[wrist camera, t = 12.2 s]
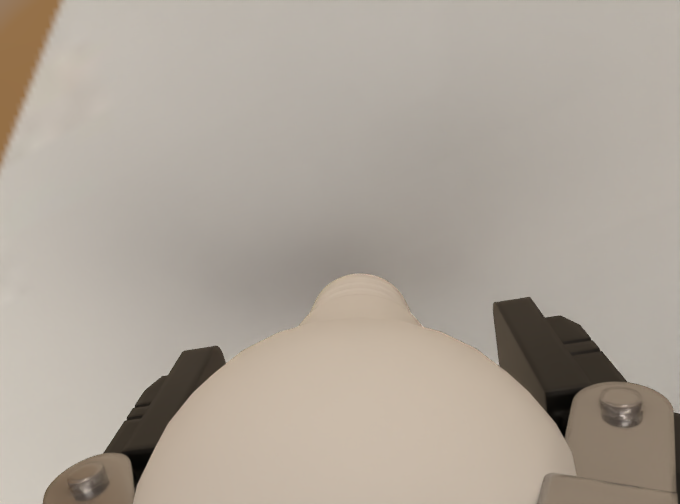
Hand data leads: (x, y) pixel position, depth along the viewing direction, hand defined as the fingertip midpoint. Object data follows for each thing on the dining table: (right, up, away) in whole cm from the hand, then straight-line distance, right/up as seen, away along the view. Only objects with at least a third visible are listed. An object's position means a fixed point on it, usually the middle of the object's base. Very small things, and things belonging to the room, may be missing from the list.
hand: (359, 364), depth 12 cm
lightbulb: (0, +1, +3) cm, 3 cm away
